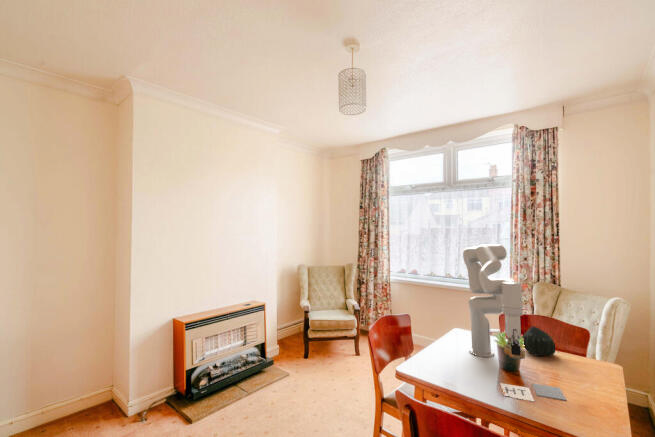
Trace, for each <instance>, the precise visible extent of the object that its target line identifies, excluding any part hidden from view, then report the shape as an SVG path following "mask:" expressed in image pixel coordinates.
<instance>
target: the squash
mask: <svg viewBox="0 0 655 437" xmlns="http://www.w3.org/2000/svg"><path fill="white" fill-rule="evenodd" d="M522 338H524V345H525V346H523V347H524V349H525V351H526V352H528V353H530V354H532V355H534V356H539V355H540V356H543V355H544V356H547V357H551V356H553V355H554V354H555V353H556V343H555V341H554V338H552V337H551V335H550V334H548V333H547V332H546V331H544V330H542V329H540V328H538V327H536V326H534V325H533V326H531V327H529V329H527V331H525V332H524V334H523V336H522Z"/></svg>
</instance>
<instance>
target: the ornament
mask: <svg viewBox="0 0 655 437" xmlns="http://www.w3.org/2000/svg"><path fill="white" fill-rule="evenodd" d="M508 339H509V340H508ZM513 341H514V340H513ZM511 344H512V341H511V338H508V337H507V340H506V344H504V345H503V352H504V354H505V355H506V356H509V358H512V359H514V360H523V359H526V350H524V349H523V347H522V345H521V344H520V355H513V354H512V353H511Z"/></svg>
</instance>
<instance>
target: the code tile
mask: <svg viewBox="0 0 655 437" xmlns="http://www.w3.org/2000/svg"><path fill="white" fill-rule="evenodd" d="M500 388H501V390H502V389H504V390H503V392H506V393H507V396H510V397H509V398H511V397H512V399H516V398H518V400H522V399H523V401H527V402H535V399H534V397H533V394H532V392H531V389H530V387H526V386H521V385H512V384H508V383H502V382H500ZM508 391H510V393H509V392H508ZM503 392H502V393H503ZM505 396H506V395H505ZM505 396H504V397H505Z"/></svg>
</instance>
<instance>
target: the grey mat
mask: <svg viewBox="0 0 655 437" xmlns="http://www.w3.org/2000/svg"><path fill="white" fill-rule="evenodd" d="M531 384H532V386H533V389H534V391H535V393H536V396H537V397H543V398H548V399H554V400H560V401H565V402H566V401H568V400H567V398H566V396H565V395H564V393H563V392H562V390H561V388H560V387H558V386H557V387H556V386H553V385H552V386H551V385H546V384H539V383H538V384H537V383H531Z"/></svg>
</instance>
